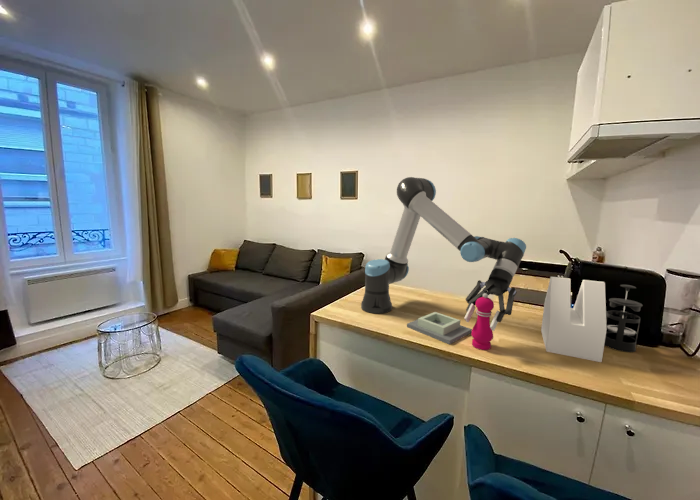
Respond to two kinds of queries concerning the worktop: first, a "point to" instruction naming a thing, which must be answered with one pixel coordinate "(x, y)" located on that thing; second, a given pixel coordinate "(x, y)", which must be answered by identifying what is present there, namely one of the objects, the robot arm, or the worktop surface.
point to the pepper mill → (483, 323)
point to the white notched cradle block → (575, 319)
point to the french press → (622, 324)
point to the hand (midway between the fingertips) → (478, 324)
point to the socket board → (440, 327)
